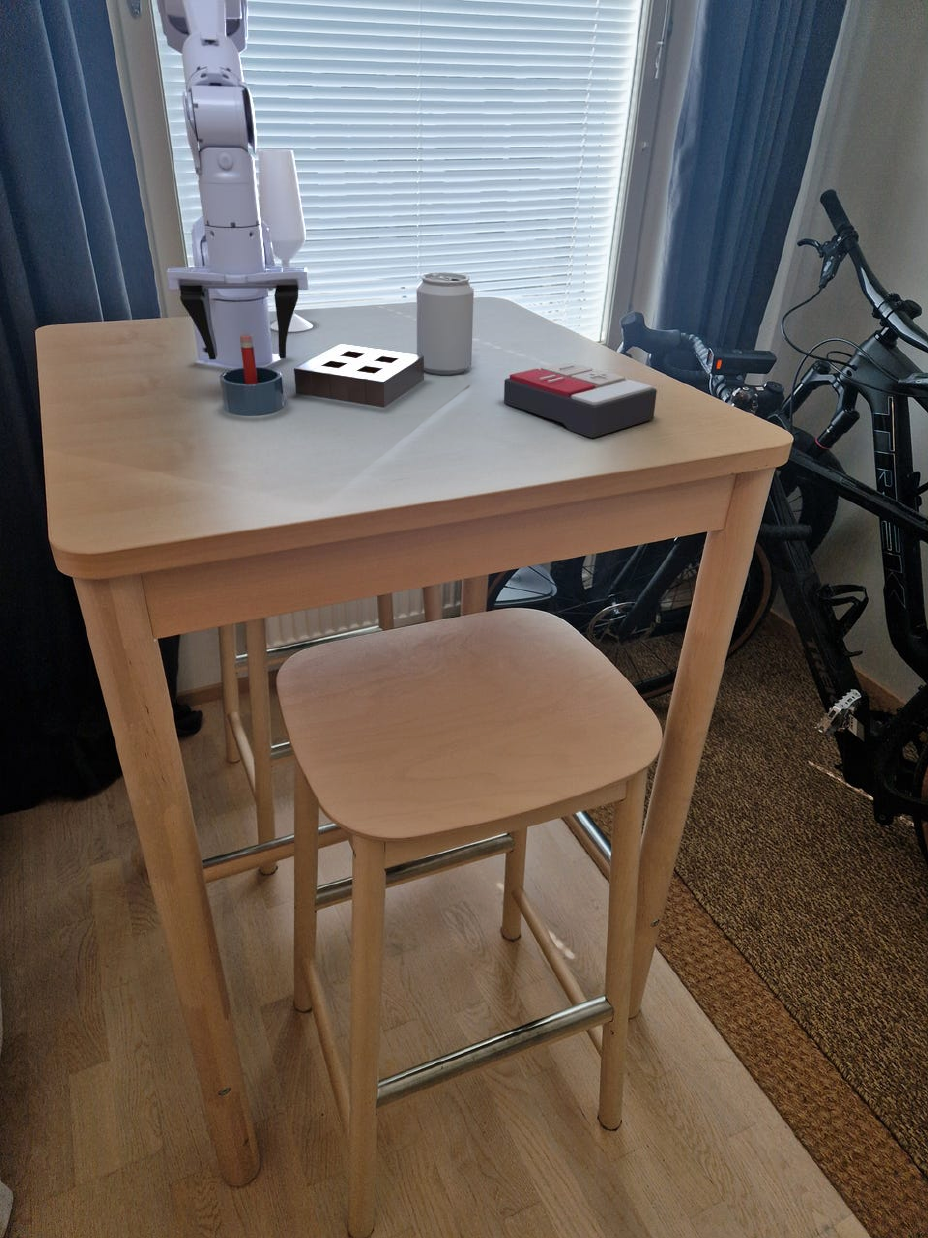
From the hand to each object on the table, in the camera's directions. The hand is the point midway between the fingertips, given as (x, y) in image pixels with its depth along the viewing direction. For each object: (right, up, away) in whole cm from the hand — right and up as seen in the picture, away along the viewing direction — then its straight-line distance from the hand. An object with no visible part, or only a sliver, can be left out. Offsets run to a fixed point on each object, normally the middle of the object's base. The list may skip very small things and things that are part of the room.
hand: (248, 356), depth 91 cm
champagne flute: (-3, +16, +35) cm, 39 cm away
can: (+22, +5, +19) cm, 29 cm away
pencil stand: (+12, -1, +11) cm, 16 cm away
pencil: (0, -5, +3) cm, 6 cm away
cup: (0, -5, +4) cm, 6 cm away
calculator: (+38, -5, +6) cm, 39 cm away
